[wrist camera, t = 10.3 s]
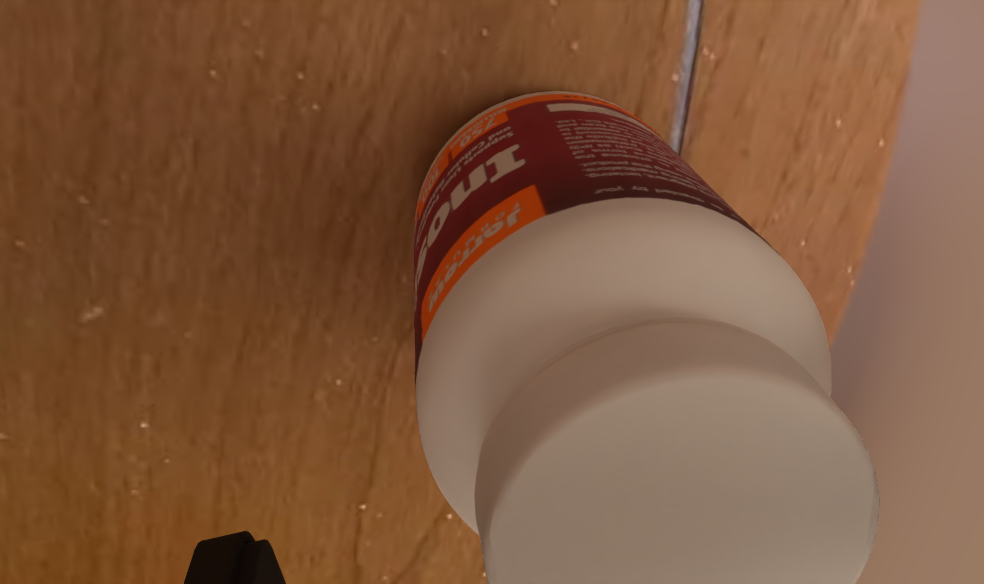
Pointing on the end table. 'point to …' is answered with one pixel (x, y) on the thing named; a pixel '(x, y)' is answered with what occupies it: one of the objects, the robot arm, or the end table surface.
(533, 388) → the pill bottle
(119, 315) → the end table surface
